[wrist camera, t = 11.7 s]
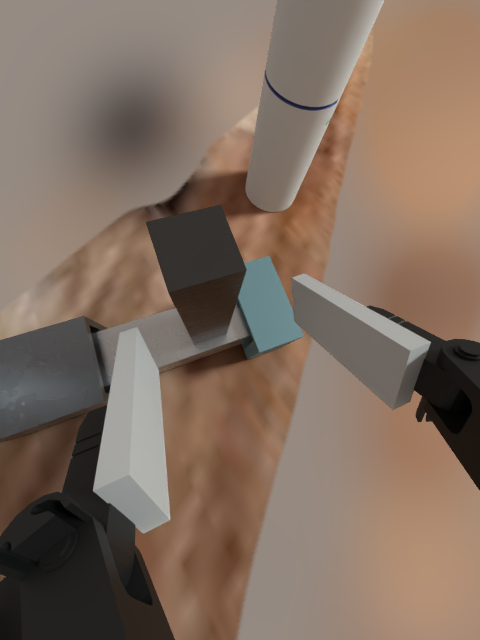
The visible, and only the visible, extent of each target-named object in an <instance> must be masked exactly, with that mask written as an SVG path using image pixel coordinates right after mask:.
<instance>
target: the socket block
mask: <svg viewBox="0 0 480 640" xmlns="http://www.w3.org/2000/svg"><path fill="white" fill-rule="evenodd" d="M244 264H245V267H246V269H247V271H246V274H245V277H244V280H243V283H242V287H241V290H240V293H239V296H238V299H237V300H238V302H239V305H240V308H241V310H242V313H243V315H244V318H245V321H246V323H247V326H248V328H249V331H250V334H251V336H252V339H253V340H251V341H248V342H246V343H243V344H242V347H243V349H244V352H245V355H246V357H247V360H248V359H251V358H254V357H256V356H259V355H262V354H264V353H267V352H270V351H272V350H275V349H278V348H281V347H283V346H285V345H287V344H289V343H291V342H293V341H295V340H297V339H299V338H301V337H303V336H304V335H303V333H302V330H301V328H300V326H299V325H298V324H296V323H295V322H294V312H293V309H292V307H291V305H290V302H289V300H288V298H287V296H286V293H285V291H284V289H283V286H282V284H281V282H280V279H279V277H278V275H277V272H276V270H275V268H274V265H273V263H272V261H271V258H270V256H268V257H264V258H260V259H257V260H253V261H250V262H246V263H244Z"/></svg>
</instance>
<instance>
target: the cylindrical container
mask: <svg viewBox="0 0 480 640" xmlns="http://www.w3.org/2000/svg"><path fill="white" fill-rule="evenodd" d="M383 2H384V0H277V5H276V11H275V16H274V22H273V28H272V34H271V39H270V45H269V51H268V57H267V63H266V70H265V74H264V80H263V86H262V93H261V98H260V104H259V110H258V115H257V121H256V127H255V133H254V139H253V145H252V151H251V156H250V162H249V168H248V174H247V180H246V185H245V190H246V195H247V197H248V199H249V200H250V201H251V203H252V204H253V205H255V206H256V207H257V208H259V209H261V210H264V211H267V212H280V211H283V210H285V209H287V208H288V207H290V205H291V204H292V203H293V201H294V199H295V197H296V194H297V192H298V190H299V188H300V186H301V183H302V181H303V179H304V177H305V175H306V172H307V170H308V168H309V166H310V164H311V161H312V159H313V157H314V155H315V153H316V150H317V148H318V146H319V144H320V141H321V139H322V137H323V135H324V133H325V130H326V128H327V126H328V124H329V122H330V119H331V117H332V115H333V113H334V111H335V108H336V106H337V104H338V102H339V100H340V97H341V95H342V93H343V91H344V89H345V86H346V84H347V82H348V80H349V77H350V75H351V73H352V71H353V69H354V66H355V64H356V62H357V60H358V58H359V55H360V53H361V51H362V49H363V46H364V44H365V42H366V40H367V38H368V35H369V33H370V31H371V29H372V27H373V24H374V22H375V20H376V18H377V15H378V13H379V11H380V9H381V6H382V4H383Z"/></svg>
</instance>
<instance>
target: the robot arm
mask: <svg viewBox="0 0 480 640" xmlns="http://www.w3.org/2000/svg"><path fill="white" fill-rule="evenodd" d="M292 294H293V312H294V322H295V323H296V324H298V325H299V326H300V327H301V328H302V329H303V330H304V331H305V332H306V333H308V334H309V335H310V336H311V337H312V338H313V339H314V340H316V341H317V342H318V343H319V344H320V345H321V346H322V347H323V348H324V349H325V350H327V351H328V352H329V353H330V354H331V355H332V356H333V357H334V358H335V359H337V360H338V361H339V362H340V363H341V364H342V365H343V366H344V367H345V368H347V369H348V370H349V371H350V372H351V373H352V374H353V375H355V377H357V378H358V379H359V380H360V381H361V382H362V383H363V384H364V385H365V386H367V387H368V388H369V389H370V390H371V391H372V392H373V393H374V394H375V395H377V396H378V397H379V398H380V399H381V400H382V401H383V402H384V403H386V404H387V405H388V406H389V407H390V408H391V409H392V410H394V409H396V408H398V407H400V406H402V405H404V404H406V403H408V402H410V400H411V397H412V394H413V392H414V390H415V391H416V392H417V393H419V394H420V395H422V398H421V401H420V403H419V406H418V408H417V411H416V418H417V421H418V422H421V421H422V419H423V417H424V414H425V412H426V413H427V415H426V421H427V422H428V421H432V422H433V423H434V425H435V426H436V428H437V429H438V431H439V432H440V433H441V435H442V436H443V438H444V439H445V441H446V442H447V444H448V445H449V446H450V448H451V450H452V451H453V452H454V454H455V455H456V457H457V458H458V460H459V461H460V463H461V464H462V466H463V467H464V468H465V470H466V471H467V473H468V474H469V475H470V477H471V479H472V480H473V481H474V483H475V484H476V486H477V487H478V489H479V490H480V343H478V342H475V341H470V340H465V339H453V340H448V341H445V340H442V339H441V338H439V337H436V336H435V335H433V334H431V333H429V332H427V331H425V330H423V329H421V328H419V327H417V326H415V325H413V324H411V323H409V322H405V320H403V319H401V318H400V317H398V316H397V317H396V316H395V315H394V314H392V313H390V312H388V311H386V310H384V309H381V308H377V307H373V306H367V307H365V306H363V305H362V304H360V303H358V302H356V301H354V300H352V299H350V298H349V297H347V296H345V295H343V294H341V293H339V292H338V291H336V290H334V289H332V288H330V287H328V286H326V285H325V284H323V283H321V282H319V281H317V280H315V279H314V278H312V277H310V276H308V275H306V274H302V275H298V276H295V277H292ZM72 456H73V458H72V459H71V461H70V465H69V469H68V472H67V476H66V480H65V483H64V487H63V491H62V493H59V492H55V493H51V494H47V495H44V496H43V497H41V498H39V499H37V500H36V501H34V502H32V503H31V504H29V505H28V506H27V507H26V508H25V509H24V510H23V511H22V512H21V513H19V514H18V515H17V516H16V517H15V518H14V519H13V521H12V522H11V523H10V524H9V526H8V527H7V528H6V529H5V531H4V532H3V533H2V535H1V537H0V574H1V575H4V576H7V577H6V578H4V579H3V580H2V581H1V582H0V640H175V639H174V636H173V634H172V631H171V629H170V626H169V624H168V621H167V618H166V616H165V613H164V611H163V608H162V606H161V603H160V601H159V598H158V596H157V593H156V590H155V588H154V585H153V583H152V580H151V578H150V575H149V573H148V570H147V568H146V565H145V562H144V560H143V557H142V555H141V553H140V551H139V550H138V548H137V547H136V546H135V527H136V528H137V529H138V530H140V531H141V532H142V533H145V532H147V531H149V530H151V529H154V528H156V527H158V526H160V525H162V524H164V523H166V522H168V521H170V508H169V496H168V483H167V470H166V457H165V444H164V431H163V418H162V405H161V393H160V380H159V370H158V368H157V366H156V364H155V362H154V360H153V358H152V356H151V354H150V352H149V350H148V348H147V346H146V344H145V342H144V340H143V338H142V336H141V334H140V332H139V330H138V328H137V327H136V328H133V329H129V330H126V331H123V332H120V334H119V340H118V346H117V352H116V358H115V364H114V369H113V375H112V381H111V387H110V393H109V399H108V405H105V406H103V407H100V408H97V409H95V410H92V411H90V412H89V413H88V415H87V416H86V418H85V419H84V421H83V423H82V424H81V426H80V428H79V432H78V435H77V439H76V445H75V446H74V450H73V454H72Z"/></svg>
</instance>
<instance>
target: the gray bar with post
mask: <svg viewBox="0 0 480 640" xmlns="http://www.w3.org/2000/svg"><path fill="white" fill-rule="evenodd" d="M146 224H147V227H148V230H149V233H150V237H151V240H152V243H153V246H154V249H155V252H156V255H157V258H158V262H159V265H160V268H161V271H162V274H163V277H164V280H165V283H166V286H167V290H168V293H169V295H170V297H171V299H172V301H173V303H174V305H175V307H176V308H174V309H170V310H167V311H164V312H161V313H157V314H154V315H151V316H147V317H144V318H141V319H138V320H134V321H131V322H128V323H125V324H121V325H118V326H115V327H112V328H108V329H105V330H102V331H98V332H95V333H92V334H91V335H92V339H93V343H94V347H95V352H96V356H97V360H98V364H99V368H100V373H101V377H102V381H103V385H104V389H105V392H108V391H110V387H111V381H112V375H113V369H114V364H115V358H116V352H117V346H118V340H119V334H120V332H123V331H126V330H129V329H133V328H136V327H137V328H138V330H139V332H140V334H141V336H142V338H143V340H144V342H145V344H146V346H147V348H148V350H149V352H150V354H151V356H152V358H153V360H154V362H155V364H156V366H157V368H158V370H159V373H161V372H164V371H167V370H170V369H172V368H175V367H178V366H181V365H184V364H187V363H189V362H192V361H195V360H198V359H201V358H203V357H206V356H209V355H212V354H215V353H217V352H220V351H223V350H226V349H229V348H231V347H234V346H237V345H240V344H243V343H246V342H248V341H251V340H253V339H252V336H251V334H250V331H249V328H248V326H247V323H246V321H245V318H244V315H243V313H242V310H241V308H240V305H239V302H238V300H237V299H238V296H239V293H240V290H241V287H242V283H243V280H244V277H245V274H246V271H247V269H246V267H245V264H244V262H243V259H242V257H241V254H240V252H239V249H238V247H237V244H236V242H235V239H234V237H233V234H232V232H231V230H230V227H229V225H228V222H227V220H226V217H225V215H224V212H223V210H222V207H221V205H218V206H214V207H209V208H205V209H201V210H196V211H192V212H188V213H183V214H179V215H174V216H170V217H166V218H161V219H157V220H153V221H148V222H146Z"/></svg>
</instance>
